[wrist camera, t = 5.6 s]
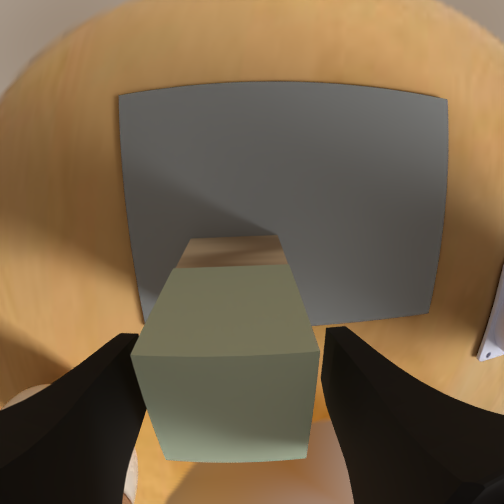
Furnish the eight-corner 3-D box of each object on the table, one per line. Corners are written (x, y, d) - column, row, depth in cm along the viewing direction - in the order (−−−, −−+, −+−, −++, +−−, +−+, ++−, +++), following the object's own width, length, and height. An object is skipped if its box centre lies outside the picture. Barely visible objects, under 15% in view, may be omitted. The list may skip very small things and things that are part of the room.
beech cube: (277, 235, 15) (289, 267, 11) (277, 311, 16) (287, 359, 12) (190, 238, 15) (173, 271, 11) (198, 314, 16) (187, 362, 12)
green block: (289, 264, 11) (320, 350, 6) (286, 357, 12) (306, 458, 8) (172, 268, 11) (129, 354, 6) (187, 360, 12) (166, 460, 8)
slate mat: (443, 100, 13) (447, 99, 13) (425, 310, 17) (428, 313, 17) (121, 96, 13) (118, 95, 13) (148, 326, 17) (146, 330, 16)
